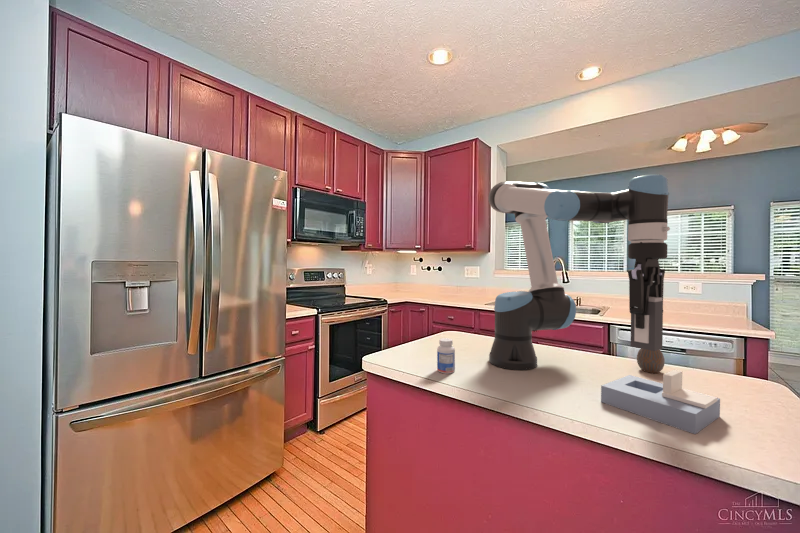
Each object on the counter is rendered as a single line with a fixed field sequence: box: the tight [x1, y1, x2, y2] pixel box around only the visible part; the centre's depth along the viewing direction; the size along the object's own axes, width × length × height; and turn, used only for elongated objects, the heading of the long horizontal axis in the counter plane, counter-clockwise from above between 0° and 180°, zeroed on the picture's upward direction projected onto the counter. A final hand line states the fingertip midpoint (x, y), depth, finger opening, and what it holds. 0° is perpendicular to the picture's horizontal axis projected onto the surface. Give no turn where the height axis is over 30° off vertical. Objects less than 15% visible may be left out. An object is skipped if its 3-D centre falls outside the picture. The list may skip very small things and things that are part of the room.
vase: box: [636, 348, 666, 374], centre depth 105 cm, size 7×7×9 cm
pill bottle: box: [436, 337, 456, 375], centre depth 105 cm, size 6×5×10 cm
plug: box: [630, 297, 664, 351], centre depth 81 cm, size 5×4×12 cm
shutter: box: [662, 369, 719, 409], centre depth 74 cm, size 8×7×5 cm
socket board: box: [600, 374, 721, 435], centre depth 79 cm, size 18×14×4 cm
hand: (646, 340), depth 81 cm, fingers closed on plug, 4 cm apart
